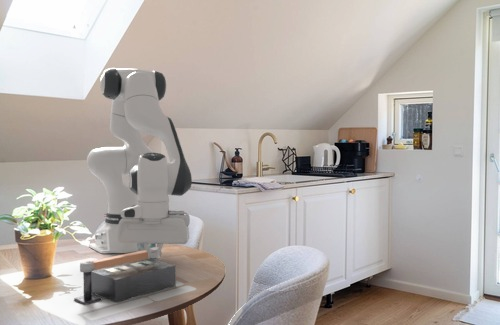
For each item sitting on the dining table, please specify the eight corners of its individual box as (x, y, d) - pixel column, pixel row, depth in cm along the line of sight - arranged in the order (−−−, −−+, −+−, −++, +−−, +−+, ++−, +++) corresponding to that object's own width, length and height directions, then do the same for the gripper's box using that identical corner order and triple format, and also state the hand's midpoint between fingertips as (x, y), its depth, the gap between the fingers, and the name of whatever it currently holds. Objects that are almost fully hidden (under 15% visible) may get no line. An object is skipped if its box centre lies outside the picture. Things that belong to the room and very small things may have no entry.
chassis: (87, 291, 144) (87, 268, 144) (146, 276, 159) (146, 256, 159) (115, 302, 135) (115, 278, 134) (175, 285, 149) (175, 264, 149)
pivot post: (74, 300, 137) (73, 271, 136) (91, 296, 140) (90, 268, 140) (84, 304, 133) (83, 275, 133) (101, 300, 137) (100, 271, 136)
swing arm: (84, 273, 134) (84, 264, 134) (77, 271, 136) (77, 262, 136) (161, 256, 152) (161, 248, 152) (154, 254, 154) (154, 247, 154)
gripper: (191, 209, 149) (192, 256, 149) (122, 208, 150) (123, 255, 151) (187, 212, 142) (187, 262, 143) (115, 211, 144) (115, 260, 145)
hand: (153, 258), depth 147 cm, fingers closed
